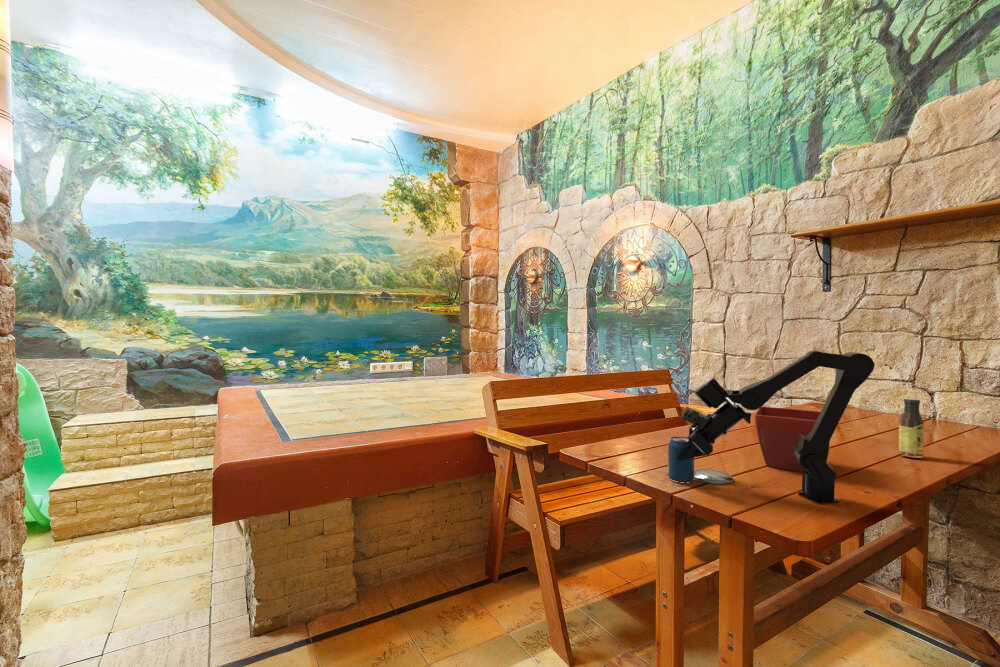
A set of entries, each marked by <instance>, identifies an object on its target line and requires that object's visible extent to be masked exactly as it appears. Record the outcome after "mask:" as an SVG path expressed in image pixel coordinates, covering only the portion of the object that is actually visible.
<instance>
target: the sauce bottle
mask: <svg viewBox="0 0 1000 667" xmlns="http://www.w3.org/2000/svg"><path fill="white" fill-rule="evenodd" d="M903 403H904V407H903V408H904V409H903V410H904V411H903V413H902V414H900V417H899V425H898V453H899V452H900V453H902V454H905V455H909V456H924V439H925V438H924V437H925V423H924V420H923V418H922V416H921V413H920V404H921V400H920V399H919V398H904V399H903Z"/></svg>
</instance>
